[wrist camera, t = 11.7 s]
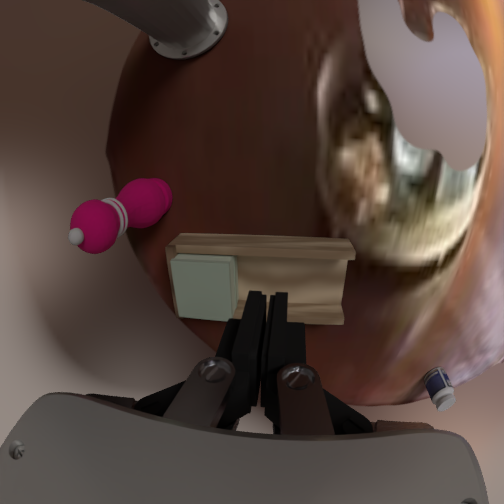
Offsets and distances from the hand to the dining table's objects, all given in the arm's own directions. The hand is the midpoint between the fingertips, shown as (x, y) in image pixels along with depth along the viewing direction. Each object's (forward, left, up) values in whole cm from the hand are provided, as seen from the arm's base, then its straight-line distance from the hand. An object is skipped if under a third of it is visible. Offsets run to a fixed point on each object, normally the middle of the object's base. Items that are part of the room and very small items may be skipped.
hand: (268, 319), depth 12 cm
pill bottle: (+38, +38, -29) cm, 61 cm away
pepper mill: (0, -20, -29) cm, 35 cm away
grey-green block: (+12, -11, -28) cm, 32 cm away
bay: (+12, -3, -29) cm, 32 cm away
